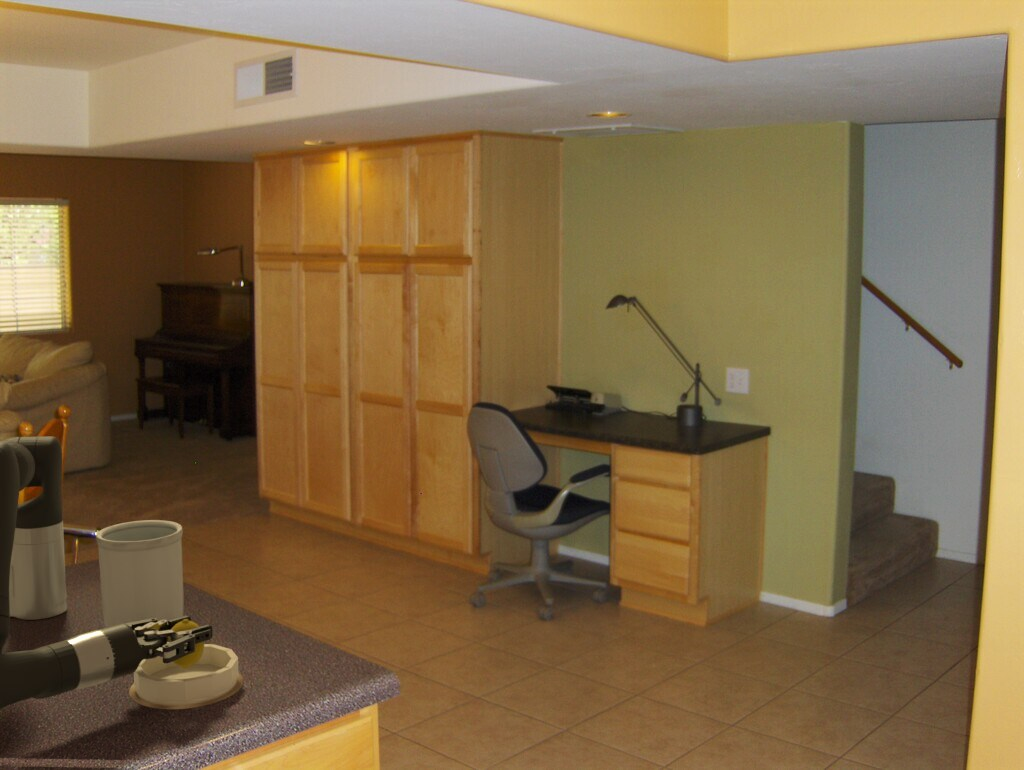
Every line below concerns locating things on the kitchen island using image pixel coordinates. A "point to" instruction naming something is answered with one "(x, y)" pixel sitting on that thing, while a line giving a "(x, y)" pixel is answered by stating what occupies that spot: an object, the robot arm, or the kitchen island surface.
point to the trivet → (134, 697)
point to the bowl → (187, 678)
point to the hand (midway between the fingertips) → (199, 626)
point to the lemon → (199, 647)
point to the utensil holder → (141, 571)
